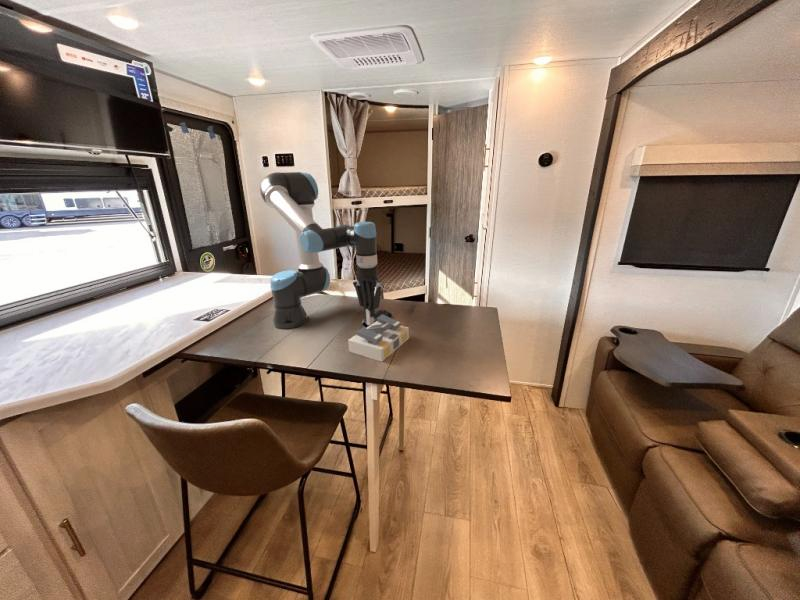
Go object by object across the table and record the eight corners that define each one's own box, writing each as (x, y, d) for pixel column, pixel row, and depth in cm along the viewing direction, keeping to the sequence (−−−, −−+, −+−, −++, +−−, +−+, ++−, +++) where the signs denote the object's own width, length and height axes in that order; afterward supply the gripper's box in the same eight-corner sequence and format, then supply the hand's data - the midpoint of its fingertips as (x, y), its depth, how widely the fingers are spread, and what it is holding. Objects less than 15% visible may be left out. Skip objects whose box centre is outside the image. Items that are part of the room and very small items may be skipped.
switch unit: (349, 351, 119) (347, 337, 117) (378, 330, 135) (378, 317, 132) (382, 362, 111) (381, 346, 109) (409, 338, 127) (409, 324, 125)
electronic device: (376, 317, 152) (357, 325, 139) (377, 306, 150) (358, 313, 138) (392, 323, 148) (374, 332, 135) (394, 312, 146) (376, 320, 134)
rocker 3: (376, 321, 126) (377, 317, 125) (382, 317, 129) (382, 313, 128) (395, 330, 123) (395, 326, 122) (400, 326, 126) (400, 322, 125)
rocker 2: (367, 333, 122) (366, 328, 121) (373, 329, 125) (372, 325, 125) (385, 331, 117) (384, 326, 116) (391, 326, 120) (389, 322, 119)
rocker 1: (356, 334, 116) (356, 330, 115) (363, 330, 119) (363, 326, 118) (376, 343, 112) (376, 339, 111) (382, 339, 115) (382, 335, 115)
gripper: (346, 265, 114) (351, 323, 122) (375, 270, 107) (378, 331, 116) (359, 261, 120) (362, 316, 128) (387, 265, 113) (389, 323, 122)
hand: (370, 323), depth 122 cm, fingers closed
